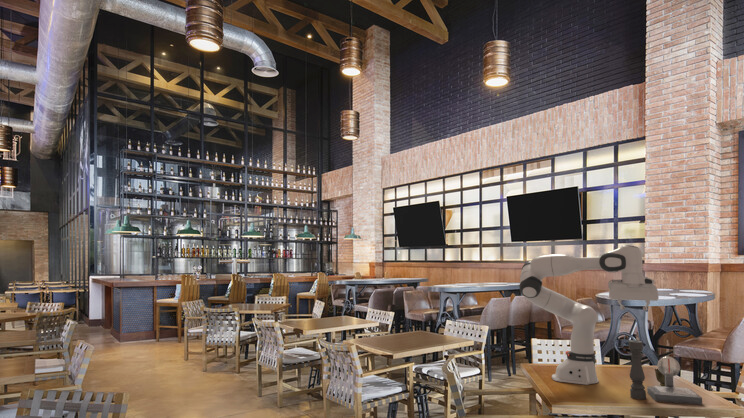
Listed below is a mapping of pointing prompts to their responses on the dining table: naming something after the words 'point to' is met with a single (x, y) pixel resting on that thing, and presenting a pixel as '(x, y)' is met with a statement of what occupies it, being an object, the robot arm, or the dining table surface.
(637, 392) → the candle holder
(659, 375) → the cup
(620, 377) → the dining table surface
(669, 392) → the scale pan
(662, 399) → the scale base
